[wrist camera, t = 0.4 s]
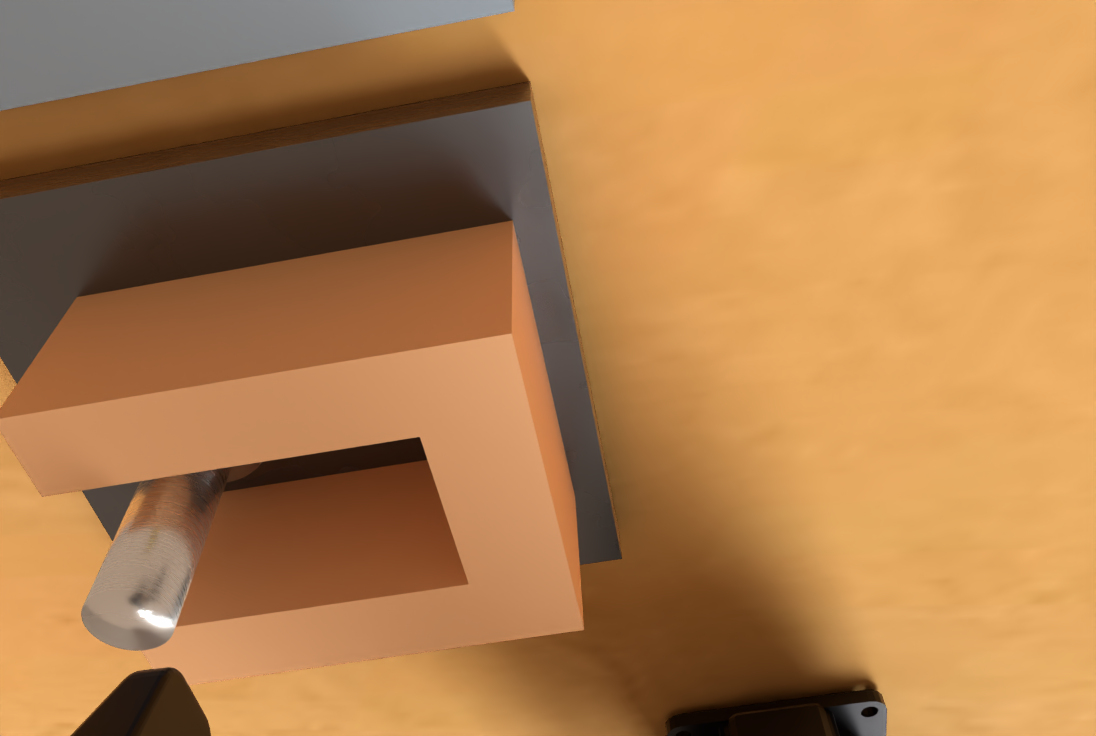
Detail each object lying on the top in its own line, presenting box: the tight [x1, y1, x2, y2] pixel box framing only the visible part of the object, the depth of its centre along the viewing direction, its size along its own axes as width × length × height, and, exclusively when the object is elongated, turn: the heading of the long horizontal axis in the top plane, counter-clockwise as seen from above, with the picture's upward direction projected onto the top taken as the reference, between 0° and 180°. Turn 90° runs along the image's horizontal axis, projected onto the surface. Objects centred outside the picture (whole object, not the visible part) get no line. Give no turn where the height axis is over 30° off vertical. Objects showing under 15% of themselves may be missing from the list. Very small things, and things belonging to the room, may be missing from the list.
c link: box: [0, 220, 584, 685], centre depth 20 cm, size 7×9×4 cm
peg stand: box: [0, 82, 622, 651], centre depth 20 cm, size 12×12×6 cm
